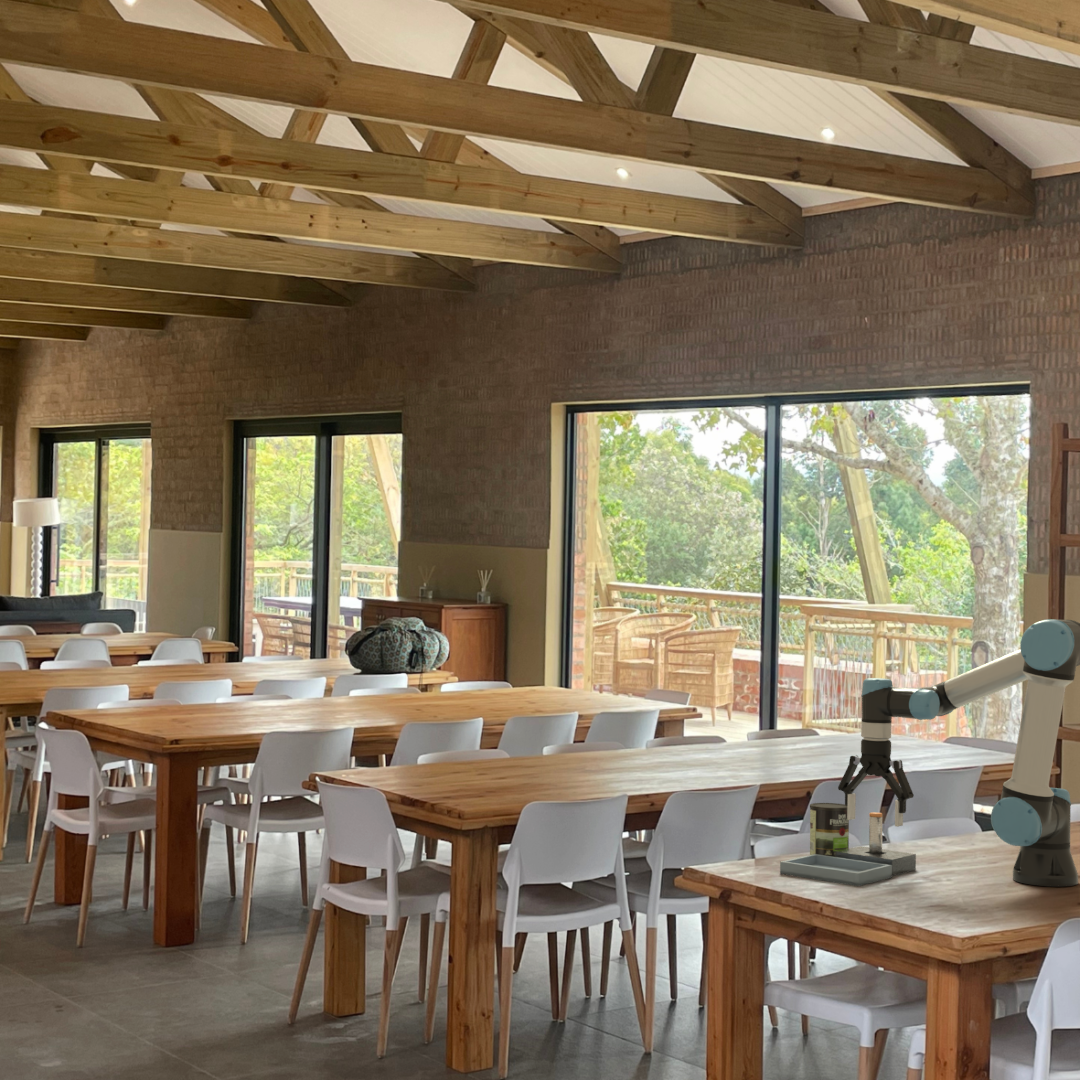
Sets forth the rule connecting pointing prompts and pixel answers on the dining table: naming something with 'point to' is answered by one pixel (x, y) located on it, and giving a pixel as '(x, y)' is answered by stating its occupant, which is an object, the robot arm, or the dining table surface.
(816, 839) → the coffee can
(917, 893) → the dining table surface
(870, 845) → the orange capped tube
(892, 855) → the block
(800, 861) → the parts tray
